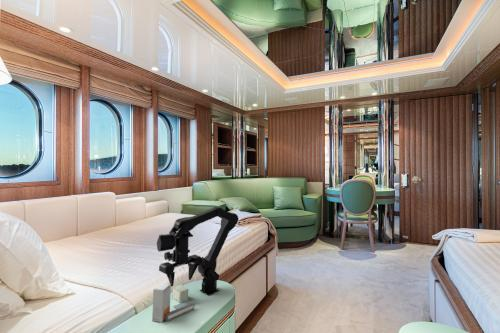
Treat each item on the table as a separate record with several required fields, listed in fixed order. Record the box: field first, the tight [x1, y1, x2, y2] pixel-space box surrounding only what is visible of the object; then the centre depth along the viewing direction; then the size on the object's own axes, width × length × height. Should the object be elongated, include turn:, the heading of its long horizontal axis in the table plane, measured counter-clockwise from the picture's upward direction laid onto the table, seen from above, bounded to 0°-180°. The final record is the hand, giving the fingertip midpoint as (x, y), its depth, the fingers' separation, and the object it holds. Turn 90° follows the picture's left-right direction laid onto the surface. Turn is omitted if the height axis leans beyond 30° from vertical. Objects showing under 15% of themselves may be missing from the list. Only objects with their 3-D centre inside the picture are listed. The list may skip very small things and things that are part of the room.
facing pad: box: [173, 299, 195, 310], centre depth 108 cm, size 7×5×1 cm
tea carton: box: [172, 284, 189, 304], centre depth 114 cm, size 4×6×5 cm
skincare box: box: [151, 282, 172, 323], centre depth 99 cm, size 6×4×12 cm
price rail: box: [164, 302, 195, 322], centre depth 101 cm, size 12×1×2 cm, turn 138°
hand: (181, 282), depth 114 cm, fingers open, 9 cm apart
